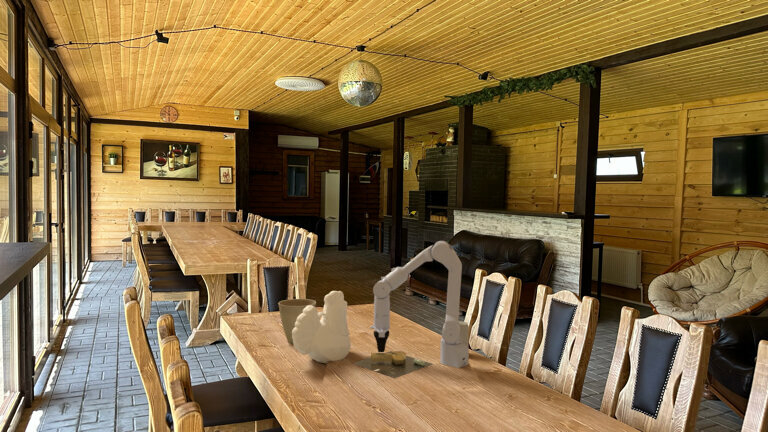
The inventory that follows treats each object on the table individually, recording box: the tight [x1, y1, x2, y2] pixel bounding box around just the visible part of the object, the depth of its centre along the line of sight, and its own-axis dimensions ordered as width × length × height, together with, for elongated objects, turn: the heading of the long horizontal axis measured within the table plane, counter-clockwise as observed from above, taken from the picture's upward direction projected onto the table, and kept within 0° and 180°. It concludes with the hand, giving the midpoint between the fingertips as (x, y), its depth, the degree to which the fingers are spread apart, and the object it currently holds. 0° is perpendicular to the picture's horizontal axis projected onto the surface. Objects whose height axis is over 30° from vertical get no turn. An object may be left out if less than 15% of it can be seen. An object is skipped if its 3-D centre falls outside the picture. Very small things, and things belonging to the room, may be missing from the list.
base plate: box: [351, 350, 433, 379], centre depth 178 cm, size 20×20×3 cm
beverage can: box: [458, 320, 470, 348], centre depth 195 cm, size 6×6×12 cm
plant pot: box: [277, 298, 317, 345], centre depth 208 cm, size 15×15×16 cm
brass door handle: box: [370, 350, 407, 365], centre depth 179 cm, size 12×5×3 cm, turn 91°
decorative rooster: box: [292, 290, 352, 364], centre depth 184 cm, size 25×16×25 cm, turn 129°
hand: (381, 351), depth 185 cm, fingers closed
